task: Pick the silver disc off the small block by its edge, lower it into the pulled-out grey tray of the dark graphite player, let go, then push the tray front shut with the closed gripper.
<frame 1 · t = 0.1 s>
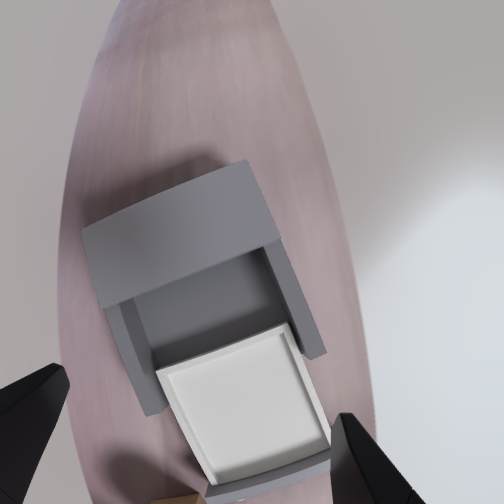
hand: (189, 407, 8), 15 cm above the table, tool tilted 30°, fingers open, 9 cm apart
tray: (253, 422, 20), point 2 cm above the table, slide at 8.0 cm
player housing: (203, 294, 24), on the table
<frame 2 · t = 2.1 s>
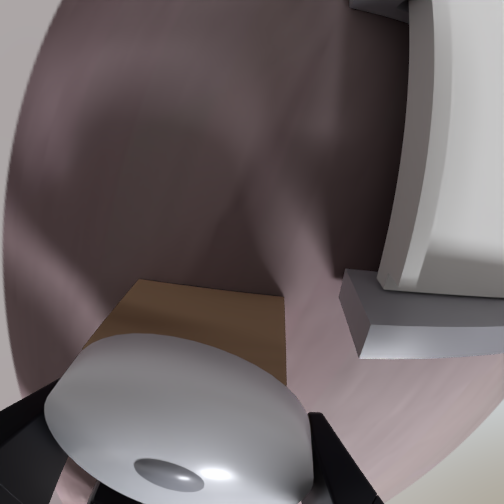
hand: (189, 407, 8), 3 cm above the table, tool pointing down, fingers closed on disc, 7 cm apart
block: (207, 346, 11), on the table
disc: (182, 431, 7), point 4 cm above the table, touching block, gripper
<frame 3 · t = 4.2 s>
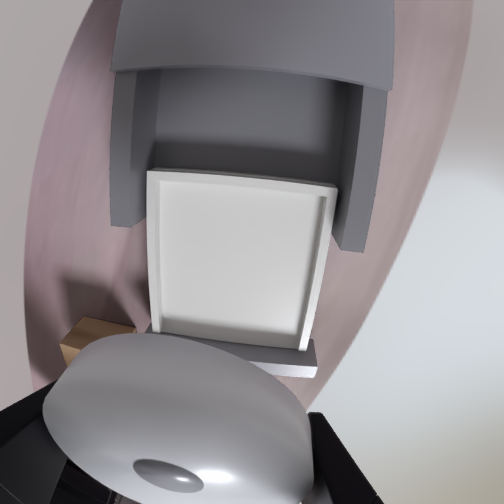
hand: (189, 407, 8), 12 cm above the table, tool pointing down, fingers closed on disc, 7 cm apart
block: (113, 345, 23), on the table
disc: (181, 431, 7), point 13 cm above the table, touching gripper
tray: (232, 281, 18), point 2 cm above the table, slide at 8.0 cm
player housing: (251, 100, 16), on the table
pillar candle: (149, 500, 37), on the table
when the fingers open (3 cm above the table, at t = 6.1 s): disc drops 2 cm, resting on tray.
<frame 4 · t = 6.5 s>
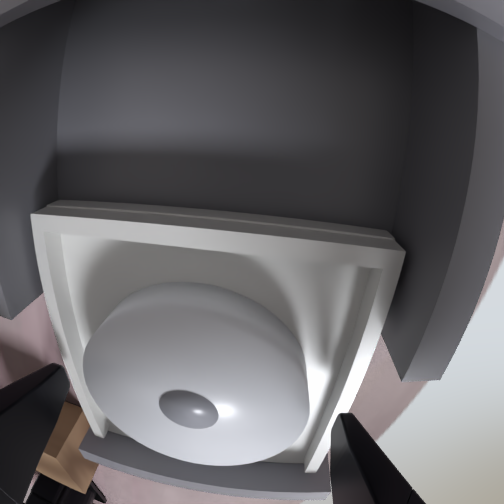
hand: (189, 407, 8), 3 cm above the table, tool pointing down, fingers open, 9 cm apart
block: (64, 420, 15), on the table
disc: (199, 375, 10), point 2 cm above the table, touching tray
tray: (199, 393, 10), point 2 cm above the table, slide at 8.0 cm, touching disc
player housing: (225, 63, 8), on the table
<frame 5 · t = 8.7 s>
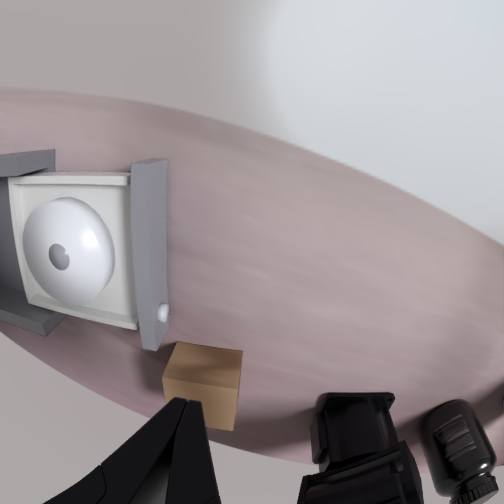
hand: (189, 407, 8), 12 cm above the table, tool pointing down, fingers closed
block: (209, 370, 23), on the table
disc: (72, 248, 18), point 2 cm above the table, touching tray
tray: (81, 249, 18), point 2 cm above the table, slide at 8.0 cm, touching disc
player housing: (5, 229, 20), on the table
supplement bottle: (443, 417, 25), on the table
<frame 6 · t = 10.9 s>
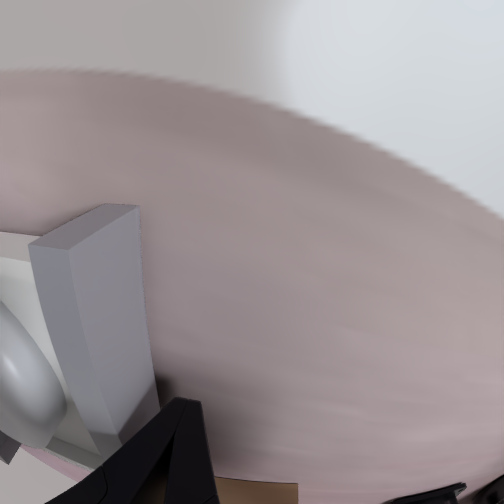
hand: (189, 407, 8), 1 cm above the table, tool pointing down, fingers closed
block: (245, 497, 13), on the table
tray: (9, 365, 8), point 2 cm above the table, slide at 7.3 cm, touching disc, gripper
supplement bottle: (499, 482, 15), on the table
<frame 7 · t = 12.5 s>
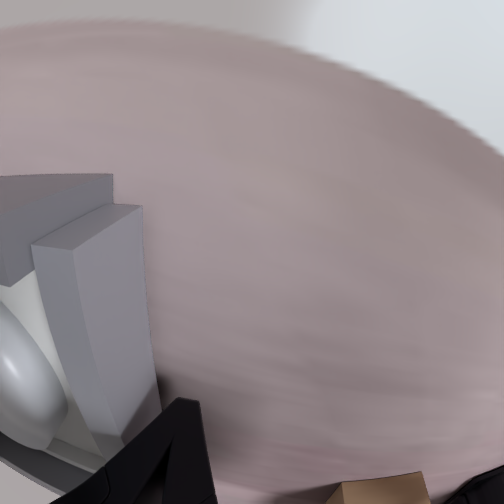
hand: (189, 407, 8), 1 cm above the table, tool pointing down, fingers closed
block: (368, 495, 13), on the table
tray: (9, 366, 8), point 2 cm above the table, slide at -0.1 cm, touching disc, gripper
player housing: (0, 326, 10), on the table
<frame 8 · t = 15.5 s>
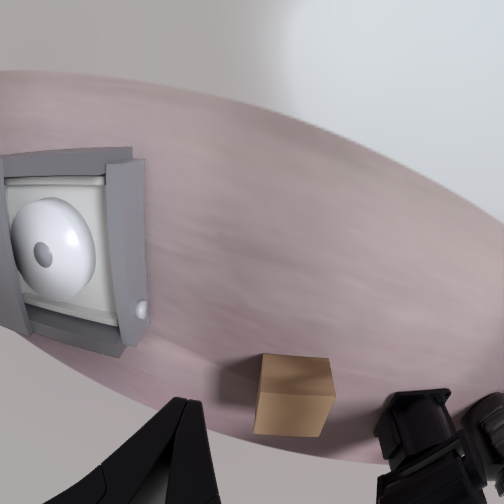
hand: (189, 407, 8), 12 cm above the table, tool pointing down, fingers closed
block: (291, 379, 23), on the table
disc: (56, 246, 18), point 2 cm above the table, touching tray
tray: (64, 248, 18), point 2 cm above the table, slide at 0.0 cm, touching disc
player housing: (55, 236, 20), on the table
supplement bottle: (482, 409, 25), on the table
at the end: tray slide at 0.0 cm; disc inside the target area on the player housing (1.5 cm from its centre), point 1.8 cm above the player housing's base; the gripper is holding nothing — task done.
